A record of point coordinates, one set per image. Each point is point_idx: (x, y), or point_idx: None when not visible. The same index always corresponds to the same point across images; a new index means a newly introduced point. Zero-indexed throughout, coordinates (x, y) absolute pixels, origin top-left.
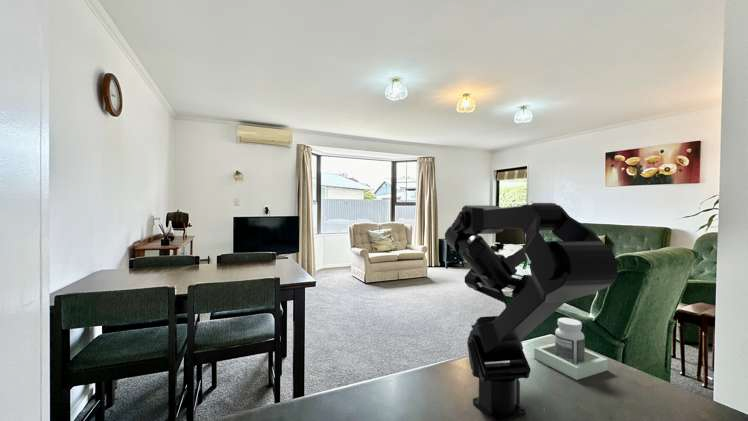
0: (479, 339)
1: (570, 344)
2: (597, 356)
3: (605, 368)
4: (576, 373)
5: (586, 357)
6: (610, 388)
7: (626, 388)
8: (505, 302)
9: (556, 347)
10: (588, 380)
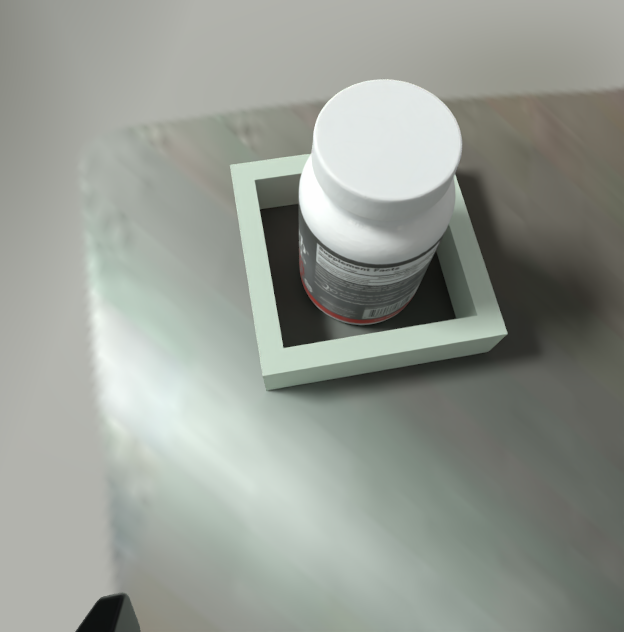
0: None
1: (432, 253)
2: None
3: None
4: (496, 341)
5: None
6: (558, 271)
7: (561, 215)
8: (137, 623)
9: (347, 293)
10: None
